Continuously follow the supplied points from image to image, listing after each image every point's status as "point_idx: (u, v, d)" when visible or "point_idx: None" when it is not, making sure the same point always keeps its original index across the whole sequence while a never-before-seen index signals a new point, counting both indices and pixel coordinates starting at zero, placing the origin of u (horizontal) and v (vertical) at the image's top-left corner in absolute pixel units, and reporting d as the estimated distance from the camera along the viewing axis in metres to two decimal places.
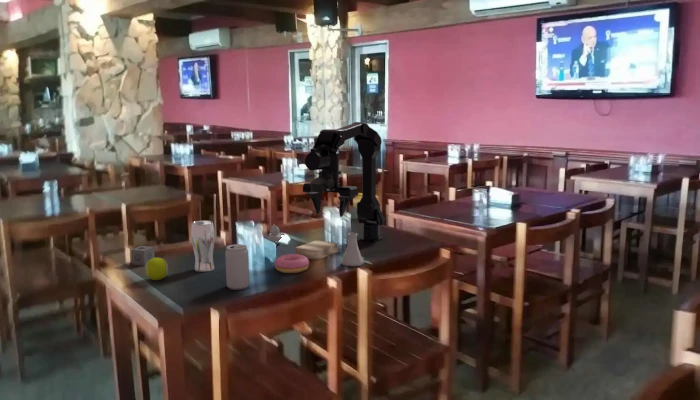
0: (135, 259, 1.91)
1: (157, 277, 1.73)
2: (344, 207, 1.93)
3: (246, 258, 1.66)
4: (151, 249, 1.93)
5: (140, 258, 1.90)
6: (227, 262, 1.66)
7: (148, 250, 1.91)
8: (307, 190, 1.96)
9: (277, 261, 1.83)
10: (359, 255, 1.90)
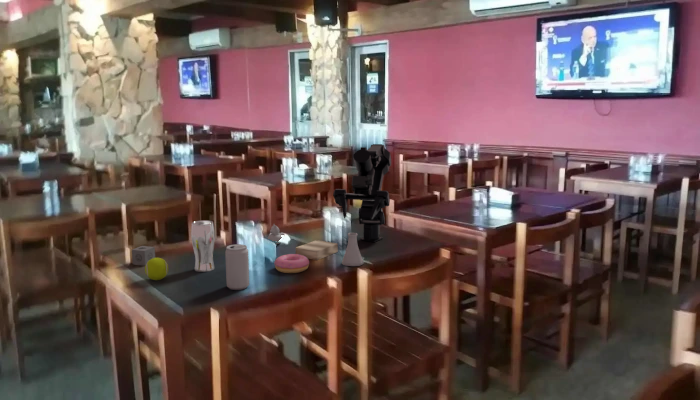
0: (135, 259, 1.91)
1: (157, 277, 1.73)
2: (376, 211, 1.97)
3: (246, 258, 1.66)
4: (152, 249, 1.93)
5: (141, 258, 1.90)
6: (227, 262, 1.66)
7: (149, 250, 1.91)
8: (340, 192, 2.00)
9: (277, 261, 1.83)
10: (359, 255, 1.90)
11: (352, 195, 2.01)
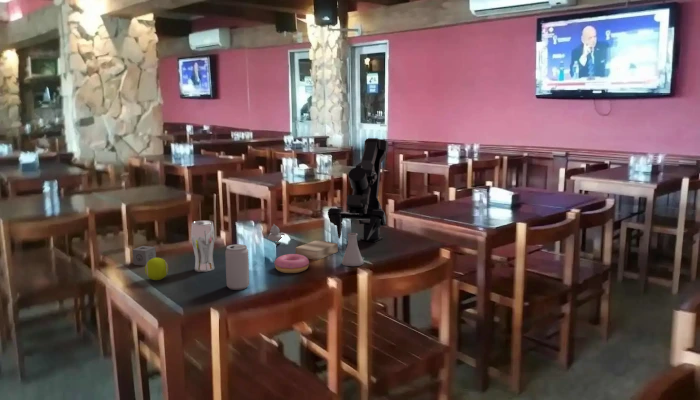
0: (136, 259, 1.91)
1: (157, 277, 1.73)
2: (371, 231, 1.91)
3: (246, 258, 1.66)
4: (152, 249, 1.93)
5: (141, 258, 1.90)
6: (227, 262, 1.66)
7: (149, 250, 1.91)
8: (334, 211, 1.94)
9: (277, 261, 1.83)
10: (359, 255, 1.90)
11: (347, 214, 1.95)
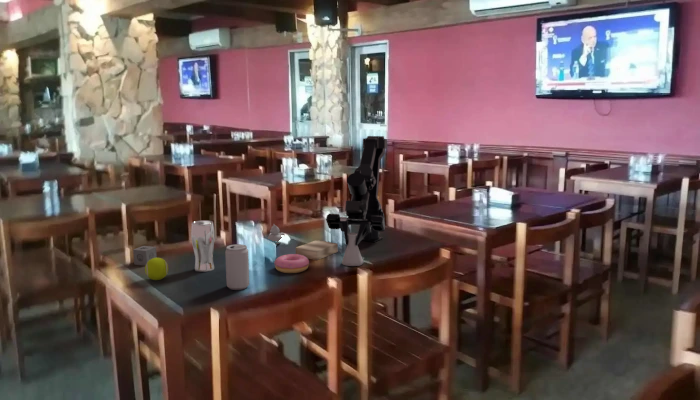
0: (137, 259, 1.91)
1: (157, 277, 1.73)
2: (361, 237, 1.90)
3: (246, 258, 1.66)
4: (153, 249, 1.93)
5: (142, 258, 1.90)
6: (227, 262, 1.66)
7: (150, 250, 1.91)
8: (333, 217, 1.93)
9: (277, 261, 1.83)
10: (359, 255, 1.90)
11: (355, 220, 1.93)
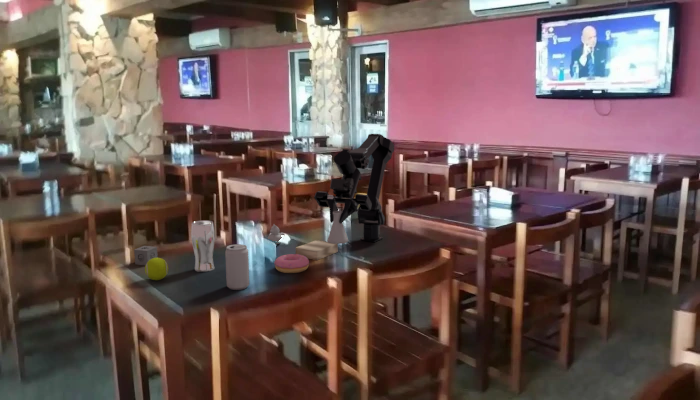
0: (138, 259, 1.91)
1: (157, 277, 1.73)
2: (346, 215, 1.92)
3: (246, 258, 1.66)
4: (154, 249, 1.93)
5: (143, 258, 1.90)
6: (227, 262, 1.66)
7: (151, 250, 1.91)
8: (320, 195, 1.96)
9: (277, 261, 1.83)
10: (343, 233, 1.92)
11: (342, 199, 1.95)
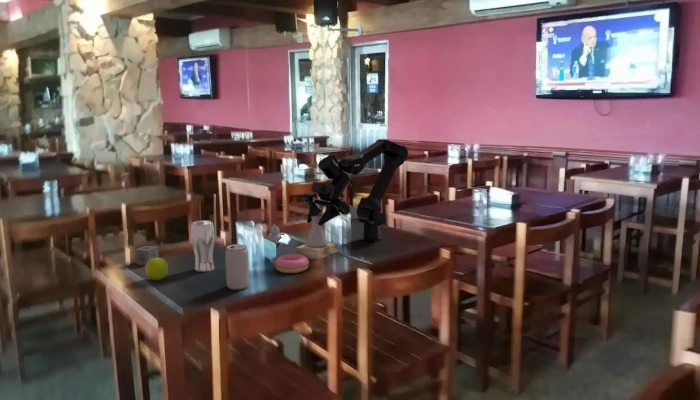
0: (139, 259, 1.91)
1: (157, 277, 1.73)
2: (326, 218, 1.99)
3: (246, 258, 1.66)
4: (155, 249, 1.93)
5: (144, 258, 1.90)
6: (227, 262, 1.66)
7: (152, 250, 1.92)
8: (307, 197, 2.06)
9: (277, 261, 1.83)
10: (320, 237, 2.00)
11: (322, 201, 2.03)
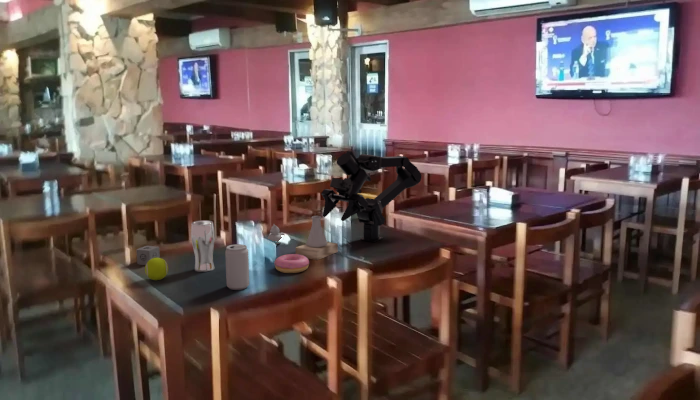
0: (140, 259, 1.91)
1: (157, 277, 1.73)
2: (348, 213, 2.04)
3: (246, 258, 1.66)
4: (156, 249, 1.93)
5: (145, 258, 1.91)
6: (227, 262, 1.66)
7: (153, 250, 1.92)
8: (325, 192, 2.12)
9: (277, 261, 1.83)
10: (320, 237, 2.00)
11: (337, 196, 2.11)
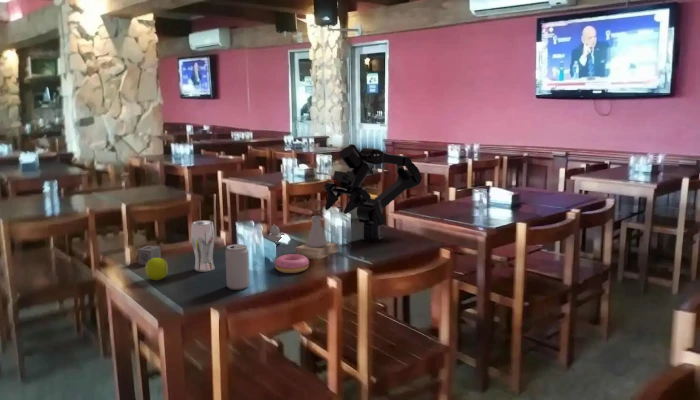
0: (141, 259, 1.91)
1: (157, 277, 1.73)
2: (351, 206, 2.04)
3: (246, 258, 1.66)
4: (157, 249, 1.93)
5: (146, 258, 1.91)
6: (227, 262, 1.66)
7: (154, 250, 1.92)
8: (328, 185, 2.12)
9: (277, 261, 1.83)
10: (320, 237, 2.00)
11: (339, 189, 2.11)
